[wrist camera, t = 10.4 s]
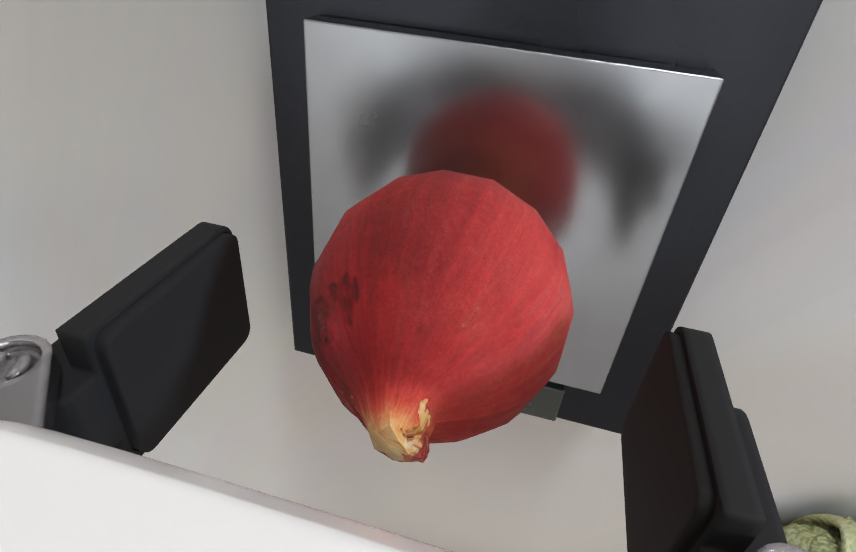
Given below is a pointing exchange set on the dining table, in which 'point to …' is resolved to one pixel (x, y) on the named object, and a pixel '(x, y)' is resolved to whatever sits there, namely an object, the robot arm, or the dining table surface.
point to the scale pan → (514, 148)
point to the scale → (590, 33)
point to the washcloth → (822, 533)
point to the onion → (439, 310)
